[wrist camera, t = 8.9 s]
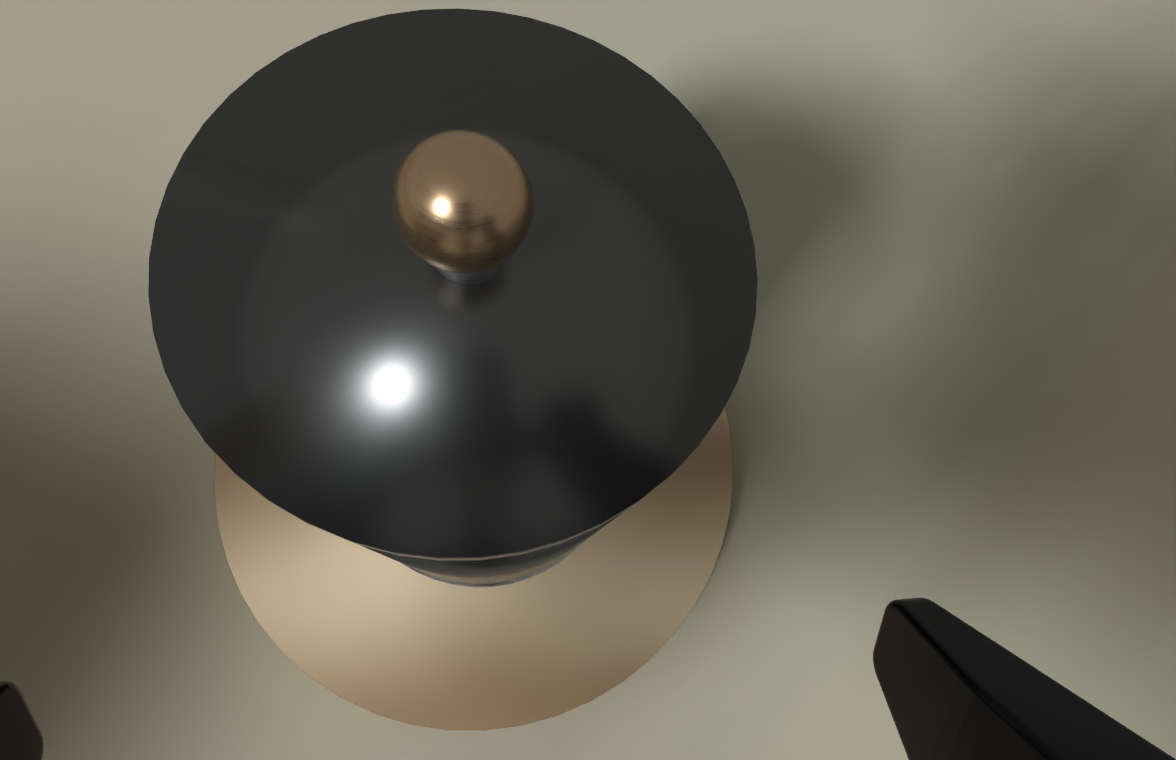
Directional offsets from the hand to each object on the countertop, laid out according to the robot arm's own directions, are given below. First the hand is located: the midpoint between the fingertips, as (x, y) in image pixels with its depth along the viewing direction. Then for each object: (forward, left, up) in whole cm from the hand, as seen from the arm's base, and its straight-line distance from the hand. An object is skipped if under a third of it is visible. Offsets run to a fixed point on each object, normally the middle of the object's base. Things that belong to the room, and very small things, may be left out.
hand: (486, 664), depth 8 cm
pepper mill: (+4, 0, -9) cm, 10 cm away
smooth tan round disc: (+4, 0, -10) cm, 11 cm away
